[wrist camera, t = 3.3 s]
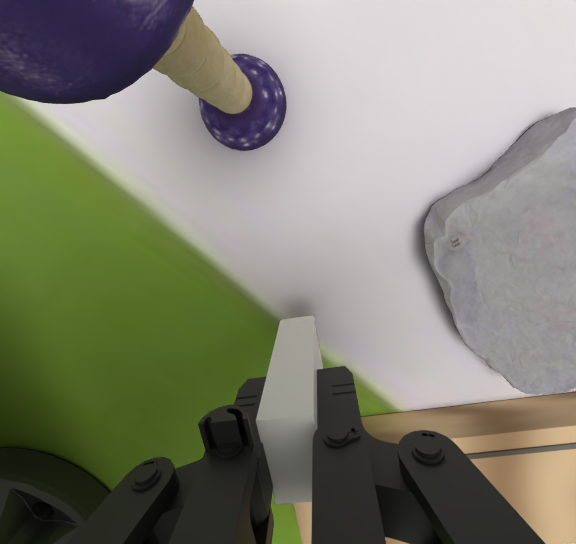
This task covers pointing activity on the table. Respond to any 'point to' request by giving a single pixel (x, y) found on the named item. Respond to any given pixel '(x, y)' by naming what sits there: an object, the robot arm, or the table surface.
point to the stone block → (515, 258)
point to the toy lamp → (136, 61)
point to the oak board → (502, 455)
